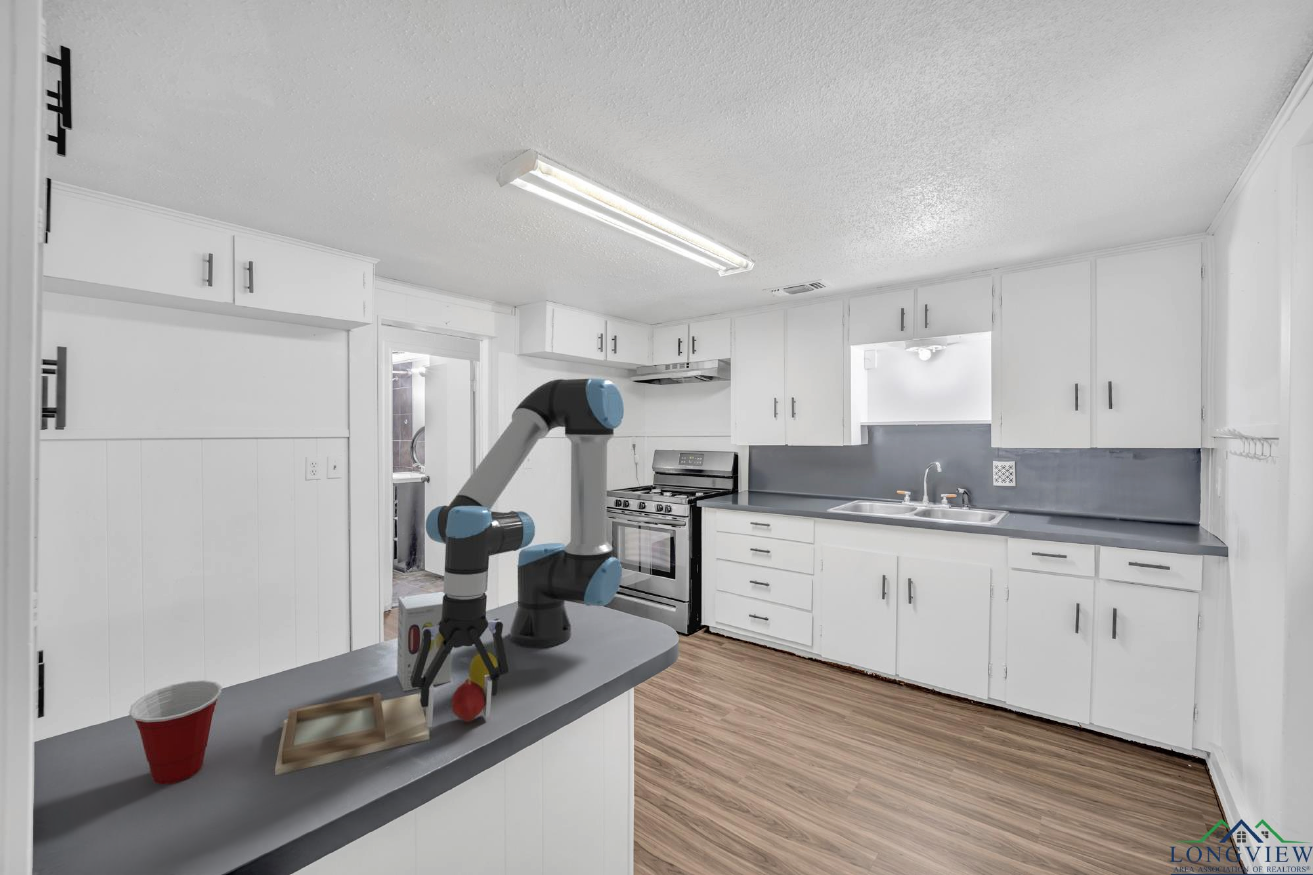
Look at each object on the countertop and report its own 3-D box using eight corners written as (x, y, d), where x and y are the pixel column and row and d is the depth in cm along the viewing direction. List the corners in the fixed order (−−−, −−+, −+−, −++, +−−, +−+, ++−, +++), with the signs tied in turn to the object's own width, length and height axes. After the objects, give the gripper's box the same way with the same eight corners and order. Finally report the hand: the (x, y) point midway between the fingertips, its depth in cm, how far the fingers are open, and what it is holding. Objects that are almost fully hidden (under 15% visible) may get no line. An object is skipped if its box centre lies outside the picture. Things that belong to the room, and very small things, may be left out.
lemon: (464, 690, 116) (464, 650, 116) (488, 681, 120) (489, 643, 120) (478, 699, 112) (478, 659, 112) (503, 690, 116) (503, 651, 116)
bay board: (418, 698, 112) (418, 683, 112) (429, 739, 98) (429, 721, 98) (284, 725, 101) (284, 708, 101) (275, 775, 87) (275, 755, 87)
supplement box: (402, 692, 114) (403, 608, 114) (395, 675, 122) (396, 596, 122) (452, 681, 120) (453, 601, 119) (442, 665, 127) (443, 590, 127)
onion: (450, 716, 105) (450, 673, 105) (483, 710, 108) (483, 668, 108) (452, 732, 100) (452, 687, 100) (487, 726, 102) (487, 681, 102)
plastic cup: (115, 804, 80) (114, 720, 80) (147, 762, 90) (146, 686, 90) (210, 786, 85) (210, 706, 84) (230, 747, 94) (230, 675, 94)
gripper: (520, 583, 111) (513, 699, 111) (396, 592, 101) (389, 719, 101) (531, 594, 105) (524, 716, 105) (400, 604, 94) (392, 740, 95)
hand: (458, 718), depth 103 cm, fingers open, 9 cm apart
